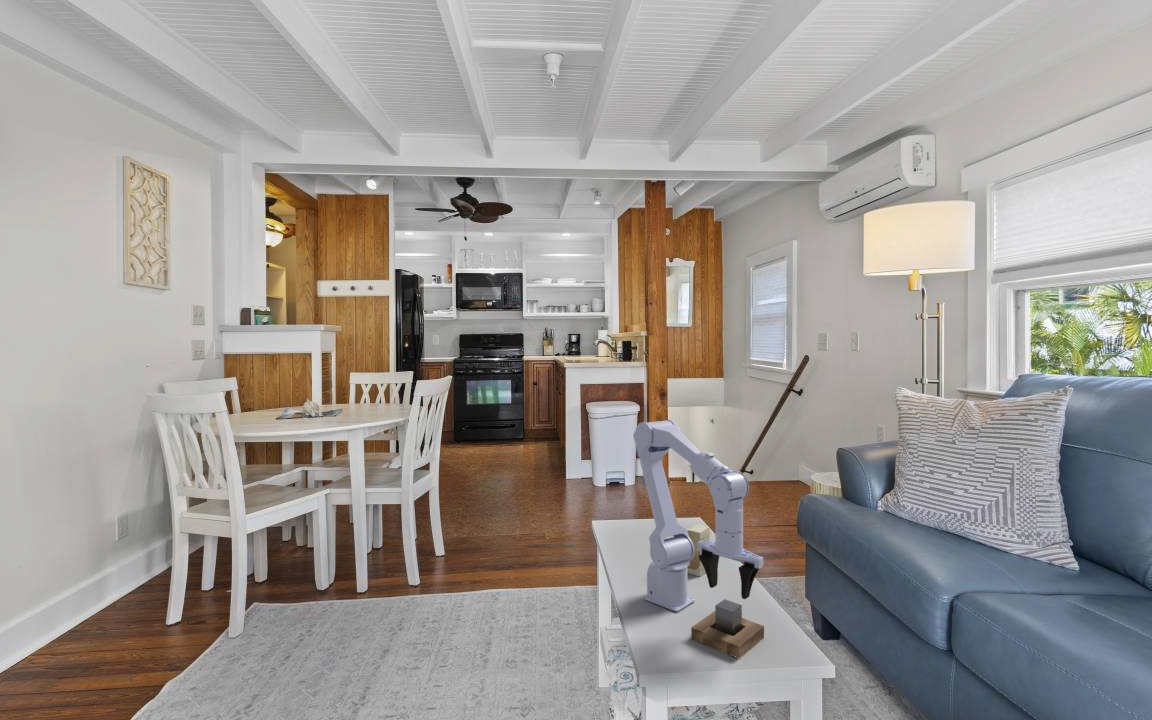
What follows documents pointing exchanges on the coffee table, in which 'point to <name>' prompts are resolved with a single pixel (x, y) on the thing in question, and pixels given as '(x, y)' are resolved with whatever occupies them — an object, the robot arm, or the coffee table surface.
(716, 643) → the socket block
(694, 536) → the skincare box
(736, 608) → the peg
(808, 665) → the coffee table surface
